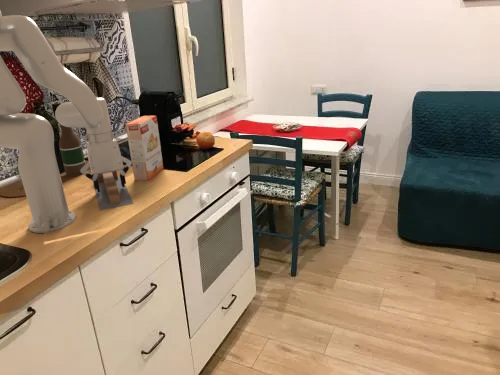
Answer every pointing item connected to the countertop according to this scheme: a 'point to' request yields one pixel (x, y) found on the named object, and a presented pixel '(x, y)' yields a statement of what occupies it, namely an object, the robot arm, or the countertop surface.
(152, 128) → the cracker box
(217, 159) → the countertop surface
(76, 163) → the beer bottle
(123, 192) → the mat
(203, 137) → the fruit
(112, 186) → the bar
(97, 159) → the robot arm
